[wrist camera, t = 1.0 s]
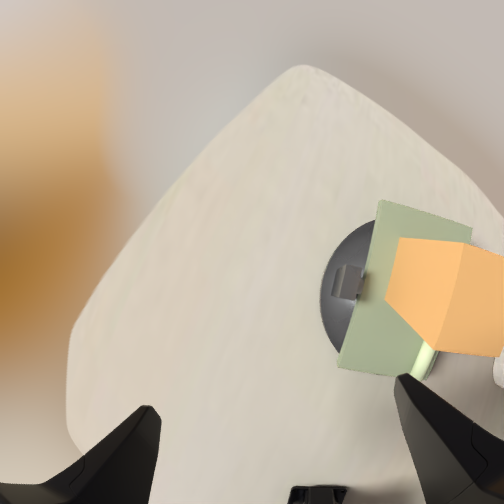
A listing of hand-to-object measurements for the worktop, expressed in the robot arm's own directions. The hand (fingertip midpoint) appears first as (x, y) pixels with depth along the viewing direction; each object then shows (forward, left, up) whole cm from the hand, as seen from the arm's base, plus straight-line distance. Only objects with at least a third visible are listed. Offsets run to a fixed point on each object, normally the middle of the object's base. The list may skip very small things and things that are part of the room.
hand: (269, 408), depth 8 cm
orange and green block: (+4, -10, -13) cm, 17 cm away
